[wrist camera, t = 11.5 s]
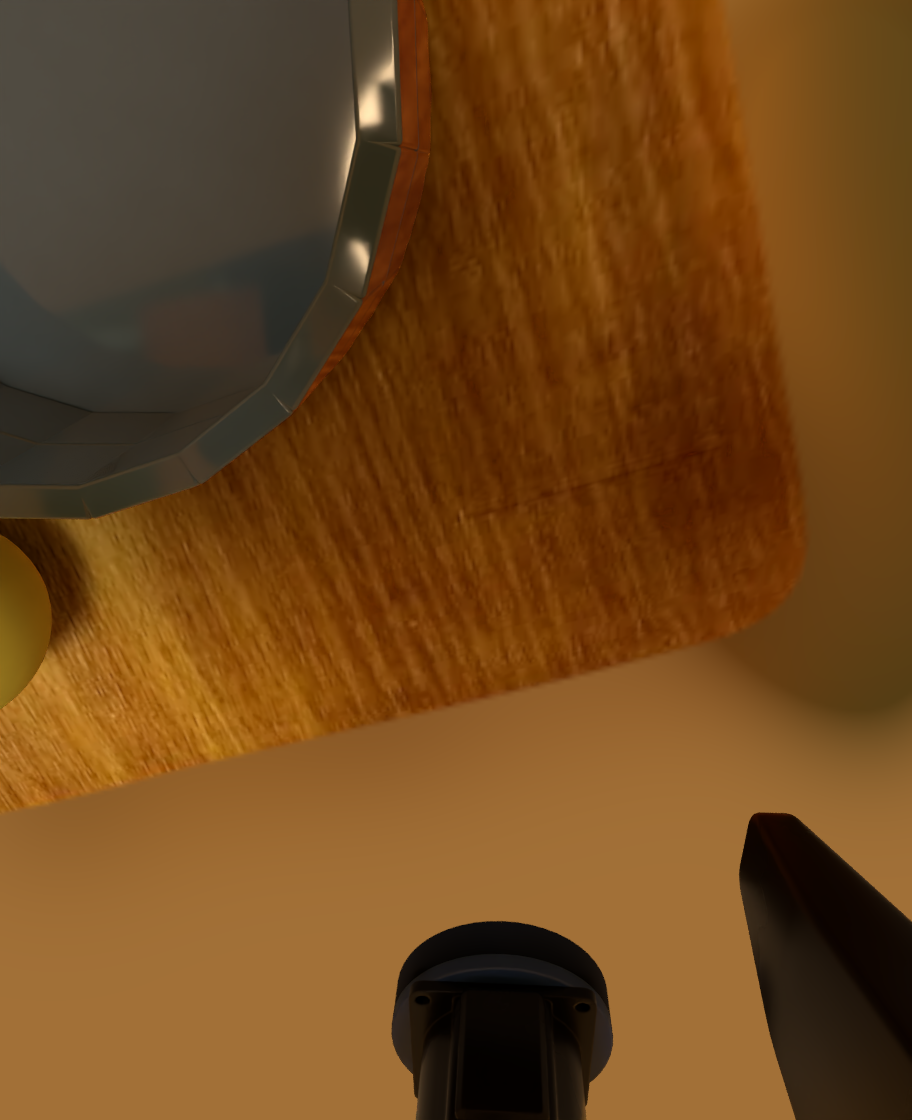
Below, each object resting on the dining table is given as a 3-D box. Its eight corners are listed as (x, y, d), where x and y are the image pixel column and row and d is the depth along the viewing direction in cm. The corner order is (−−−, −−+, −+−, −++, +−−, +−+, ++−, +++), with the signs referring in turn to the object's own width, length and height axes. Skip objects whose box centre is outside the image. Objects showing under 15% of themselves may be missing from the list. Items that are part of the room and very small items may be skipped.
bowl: (439, 434, 19) (416, 525, 14) (-125, 431, 20) (-333, 516, 15) (420, -423, 13) (366, -798, 8) (-408, -375, 14) (-930, -689, 9)
